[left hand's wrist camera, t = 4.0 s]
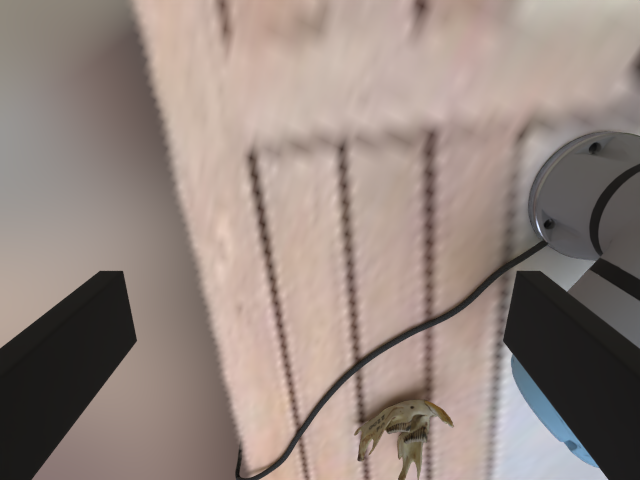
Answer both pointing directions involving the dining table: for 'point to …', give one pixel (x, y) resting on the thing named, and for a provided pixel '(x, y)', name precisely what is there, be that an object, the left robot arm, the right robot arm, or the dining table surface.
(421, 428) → the jawbone
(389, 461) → the dining table surface
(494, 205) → the dining table surface
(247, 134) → the dining table surface
